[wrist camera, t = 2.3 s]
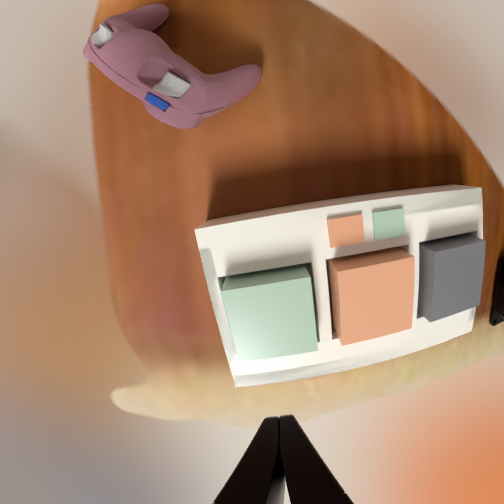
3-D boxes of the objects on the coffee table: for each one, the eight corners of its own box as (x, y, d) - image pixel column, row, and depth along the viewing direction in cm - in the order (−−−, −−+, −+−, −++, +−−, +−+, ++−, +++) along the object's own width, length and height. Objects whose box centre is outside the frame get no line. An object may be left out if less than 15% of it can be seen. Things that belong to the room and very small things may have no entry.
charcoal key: (465, 232, 14) (485, 240, 12) (462, 292, 15) (479, 304, 13) (415, 242, 14) (434, 252, 12) (414, 307, 15) (429, 322, 13)
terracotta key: (397, 246, 14) (414, 256, 12) (397, 312, 15) (411, 328, 13) (327, 259, 15) (337, 271, 13) (333, 326, 16) (341, 345, 14)
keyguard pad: (454, 184, 15) (483, 187, 12) (451, 313, 17) (473, 332, 14) (206, 220, 16) (193, 230, 13) (239, 359, 19) (235, 389, 16)
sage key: (304, 263, 15) (310, 276, 13) (312, 330, 16) (317, 350, 14) (226, 275, 15) (220, 290, 13) (241, 341, 16) (238, 361, 14)
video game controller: (135, 52, 15) (57, 60, 10) (166, 3, 12) (87, -9, 7) (229, 128, 16) (162, 156, 11) (275, 75, 14) (220, 70, 8)
